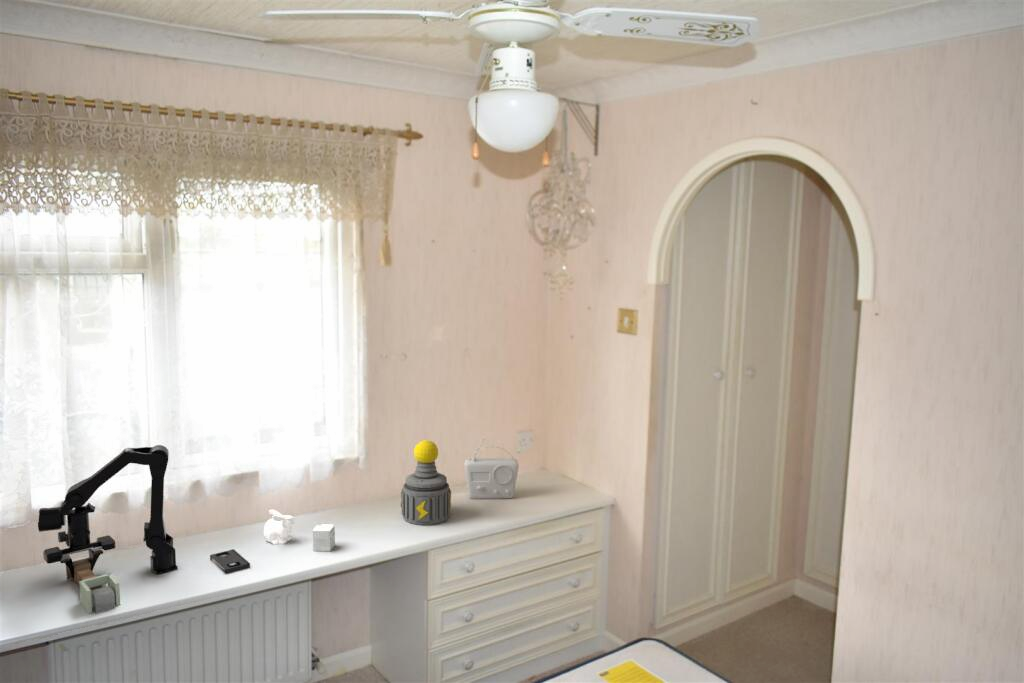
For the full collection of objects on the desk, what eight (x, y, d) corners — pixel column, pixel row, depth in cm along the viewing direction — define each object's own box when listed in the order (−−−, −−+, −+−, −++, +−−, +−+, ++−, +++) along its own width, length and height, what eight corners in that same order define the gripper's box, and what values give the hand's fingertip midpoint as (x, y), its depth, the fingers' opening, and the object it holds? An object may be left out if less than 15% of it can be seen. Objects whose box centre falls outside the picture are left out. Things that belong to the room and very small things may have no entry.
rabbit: (298, 540, 276) (297, 507, 275) (278, 549, 268) (277, 515, 266) (272, 533, 282) (272, 501, 280) (252, 542, 274) (251, 509, 272)
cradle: (109, 591, 235) (107, 570, 235) (120, 604, 227) (119, 582, 226) (77, 599, 230) (76, 577, 229) (88, 613, 222) (86, 591, 221)
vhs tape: (209, 560, 259) (209, 554, 259) (233, 554, 264) (233, 549, 264) (225, 575, 248) (225, 569, 248) (250, 569, 253) (249, 563, 253)
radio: (464, 500, 319) (465, 440, 316) (464, 494, 327) (464, 435, 324) (518, 500, 321) (519, 440, 318) (516, 493, 329) (517, 435, 326)
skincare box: (330, 551, 267) (329, 531, 266) (312, 551, 267) (312, 530, 266) (335, 544, 273) (334, 524, 272) (317, 544, 273) (317, 523, 272)
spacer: (109, 585, 228) (114, 591, 224) (110, 602, 229) (115, 608, 225) (90, 590, 225) (94, 596, 221) (91, 607, 226) (96, 613, 222)
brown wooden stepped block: (66, 578, 242) (65, 563, 242) (91, 572, 247) (90, 557, 246) (81, 599, 229) (80, 583, 228) (108, 592, 234) (107, 576, 233)
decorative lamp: (405, 508, 310) (405, 433, 306) (453, 509, 309) (453, 434, 305) (396, 525, 291) (396, 446, 287) (447, 527, 291) (448, 447, 287)
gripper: (104, 512, 252) (107, 559, 254) (37, 526, 240) (41, 575, 242) (114, 522, 244) (117, 570, 246) (46, 537, 232) (49, 587, 234)
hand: (81, 575), depth 242 cm, fingers closed on brown wooden stepped block, 4 cm apart
